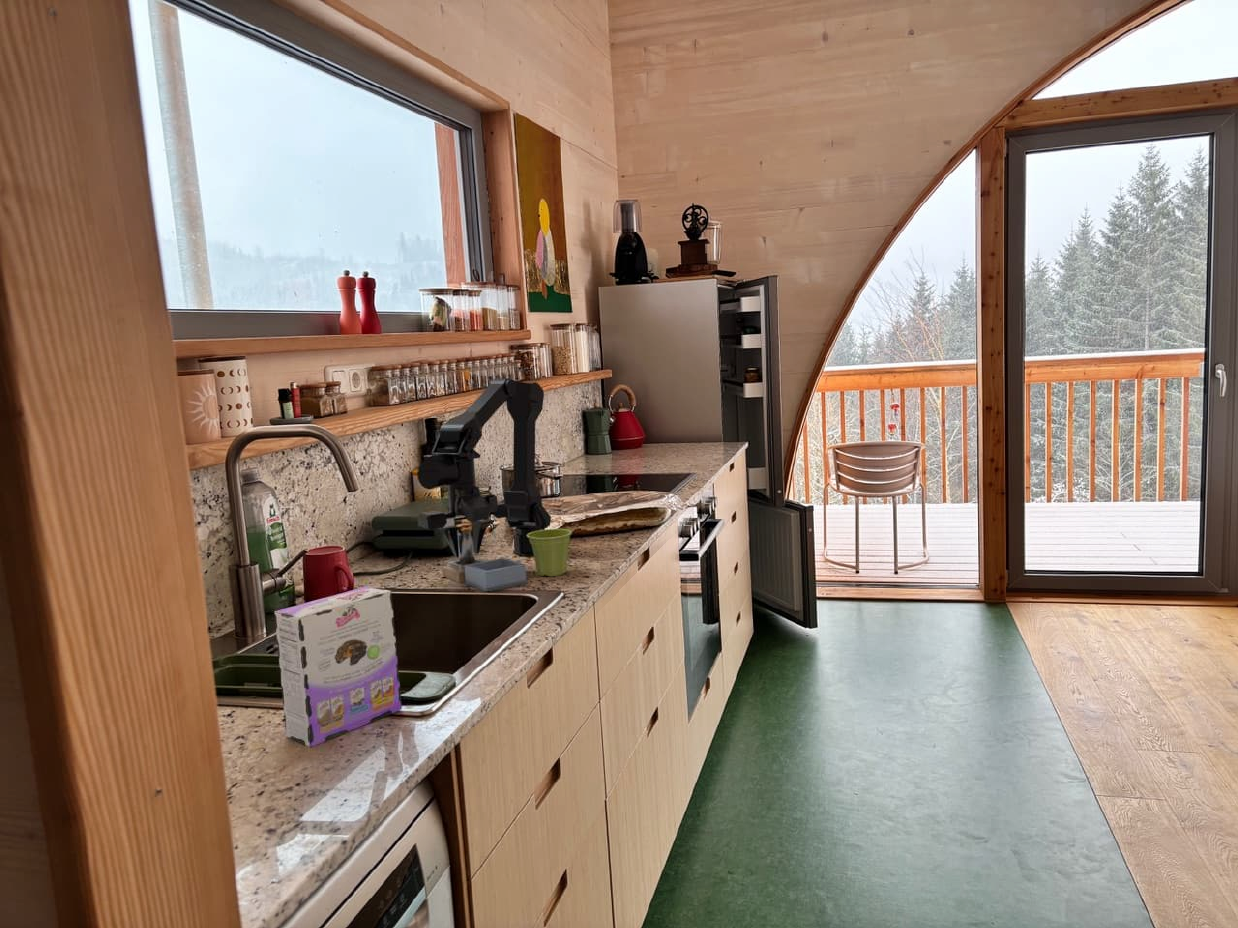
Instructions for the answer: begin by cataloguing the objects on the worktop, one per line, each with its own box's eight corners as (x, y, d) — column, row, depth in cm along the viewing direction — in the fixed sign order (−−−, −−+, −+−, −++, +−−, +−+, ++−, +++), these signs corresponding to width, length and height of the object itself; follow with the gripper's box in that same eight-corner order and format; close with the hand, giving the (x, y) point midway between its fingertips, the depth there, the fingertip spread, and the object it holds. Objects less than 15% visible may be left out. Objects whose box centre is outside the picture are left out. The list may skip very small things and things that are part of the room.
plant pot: (537, 581, 188) (535, 539, 187) (523, 572, 196) (521, 532, 195) (580, 574, 192) (578, 533, 191) (564, 566, 200) (562, 526, 199)
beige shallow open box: (476, 569, 201) (475, 556, 200) (494, 575, 194) (493, 561, 194) (442, 576, 196) (441, 562, 196) (459, 582, 190) (458, 568, 189)
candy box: (376, 701, 126) (366, 584, 124) (403, 710, 122) (393, 589, 120) (284, 737, 115) (271, 609, 113) (310, 748, 111) (298, 616, 109)
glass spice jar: (471, 563, 198) (468, 522, 196) (479, 566, 195) (476, 524, 193) (456, 566, 195) (453, 525, 194) (463, 569, 193) (460, 527, 191)
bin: (504, 576, 194) (503, 557, 193) (526, 583, 186) (525, 564, 186) (466, 584, 188) (464, 564, 188) (486, 592, 181) (485, 572, 181)
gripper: (436, 491, 181) (442, 569, 183) (519, 480, 192) (524, 553, 194) (413, 486, 190) (419, 560, 192) (494, 475, 201) (499, 545, 203)
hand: (466, 555), depth 195 cm, fingers open, 4 cm apart
